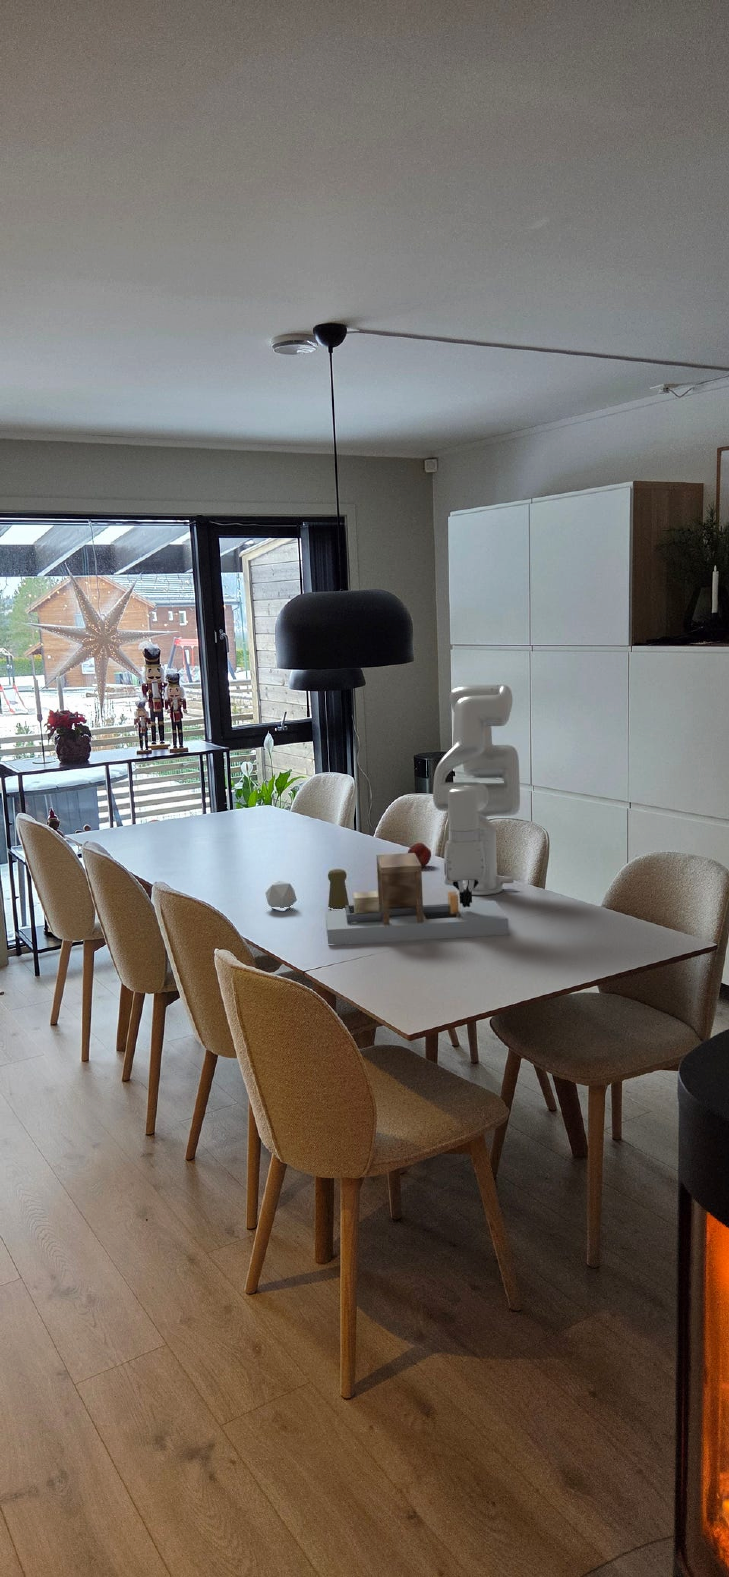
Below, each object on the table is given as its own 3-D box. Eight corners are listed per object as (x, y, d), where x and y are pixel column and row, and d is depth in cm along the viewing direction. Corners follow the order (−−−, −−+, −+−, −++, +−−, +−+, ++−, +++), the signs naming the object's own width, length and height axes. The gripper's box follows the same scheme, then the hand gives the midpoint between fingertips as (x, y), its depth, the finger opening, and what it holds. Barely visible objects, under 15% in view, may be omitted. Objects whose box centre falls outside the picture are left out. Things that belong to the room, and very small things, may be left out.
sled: (454, 906, 271) (453, 889, 270) (459, 915, 262) (459, 898, 262) (345, 912, 270) (344, 896, 269) (347, 922, 261) (346, 905, 260)
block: (377, 913, 269) (376, 891, 268) (379, 919, 263) (378, 896, 262) (354, 915, 268) (353, 892, 267) (355, 921, 262) (354, 898, 261)
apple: (430, 869, 333) (429, 845, 332) (406, 869, 334) (405, 845, 333) (432, 864, 340) (431, 840, 339) (408, 864, 342) (407, 840, 340)
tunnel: (416, 906, 274) (414, 852, 271) (423, 922, 259) (421, 865, 257) (378, 909, 273) (376, 855, 271) (383, 924, 258) (381, 867, 256)
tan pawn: (325, 906, 293) (323, 868, 292) (345, 904, 295) (343, 866, 294) (332, 911, 288) (330, 873, 286) (352, 909, 290) (350, 870, 288)
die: (303, 911, 292) (299, 880, 296) (287, 903, 285) (283, 871, 289) (279, 920, 295) (274, 889, 299) (262, 912, 288) (258, 881, 292)
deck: (494, 915, 277) (494, 900, 276) (508, 934, 259) (508, 918, 259) (326, 925, 274) (325, 910, 274) (328, 945, 257) (327, 929, 256)
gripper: (490, 831, 268) (491, 900, 271) (432, 834, 267) (435, 904, 270) (495, 836, 261) (497, 907, 263) (436, 840, 260) (439, 911, 262)
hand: (466, 905), depth 267 cm, fingers closed
